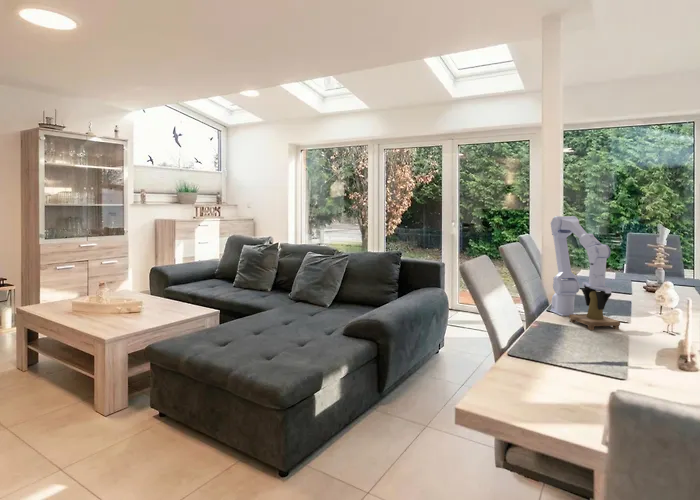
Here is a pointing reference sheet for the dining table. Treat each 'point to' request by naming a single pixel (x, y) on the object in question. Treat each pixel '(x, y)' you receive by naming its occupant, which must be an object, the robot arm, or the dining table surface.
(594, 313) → the olive bulb-shaped piece
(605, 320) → the tan square board
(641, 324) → the dining table surface
